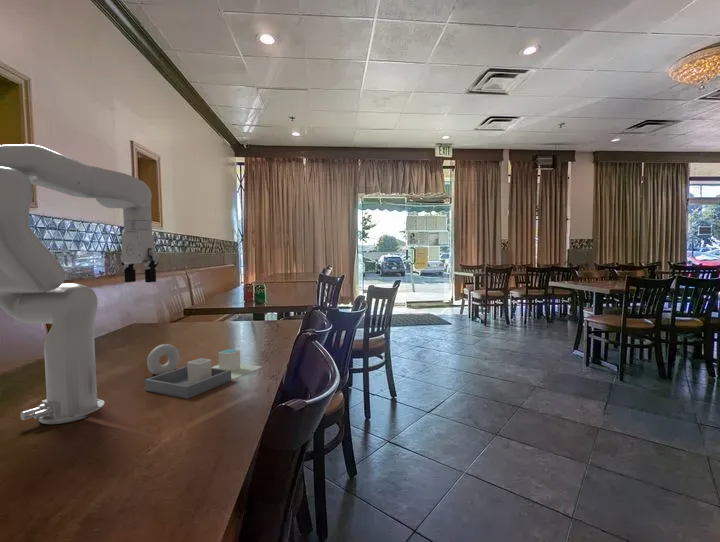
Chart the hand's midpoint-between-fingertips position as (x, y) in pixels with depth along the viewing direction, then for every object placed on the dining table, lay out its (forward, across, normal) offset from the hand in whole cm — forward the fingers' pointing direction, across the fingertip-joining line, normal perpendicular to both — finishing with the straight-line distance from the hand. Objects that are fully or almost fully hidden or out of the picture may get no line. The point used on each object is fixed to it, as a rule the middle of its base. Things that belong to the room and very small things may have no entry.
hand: (140, 282), depth 114 cm
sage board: (+30, +22, +14) cm, 40 cm away
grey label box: (+29, +22, +2) cm, 37 cm away
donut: (+31, +4, +4) cm, 31 cm away
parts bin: (+30, +22, -2) cm, 38 cm away
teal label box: (+29, +22, +14) cm, 39 cm away
